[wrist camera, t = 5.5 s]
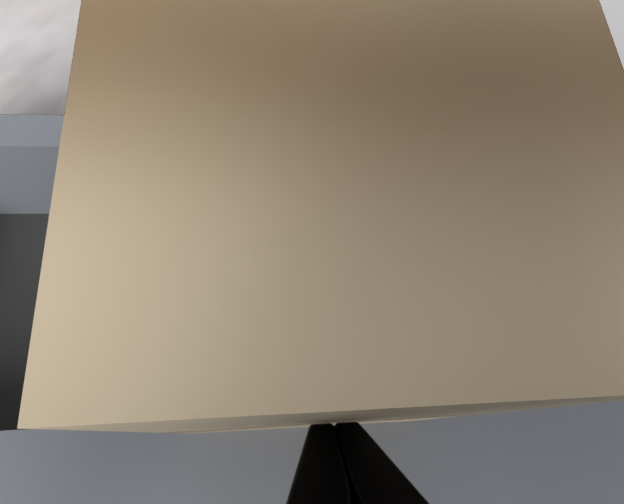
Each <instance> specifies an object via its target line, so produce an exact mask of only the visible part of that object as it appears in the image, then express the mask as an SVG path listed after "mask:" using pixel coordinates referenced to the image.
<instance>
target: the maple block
mask: <svg viewBox="0 0 624 504" xmlns="http://www.w3.org/2000/svg"><path fill="white" fill-rule="evenodd" d="M622 400H624V69H623V67H622V64H621V61H620V58H619V55H618V52H617V50H616V47H615V44H614V41H613V38H612V35H611V33H610V30H609V27H608V24H607V21H606V18H605V16H604V13H603V10H602V7H601V4H600V1H599V0H81V6H80V13H79V20H78V26H77V33H76V40H75V46H74V53H73V59H72V66H71V73H70V79H69V86H68V93H67V99H66V106H65V113H64V119H63V126H62V133H61V139H60V146H59V153H58V159H57V166H56V173H55V179H54V186H53V193H52V199H51V206H50V212H49V219H48V226H47V232H46V239H45V246H44V252H43V259H42V266H41V272H40V279H39V286H38V292H37V299H36V306H35V312H34V319H33V326H32V332H31V339H30V345H29V352H28V359H27V365H26V372H25V379H24V385H23V392H22V399H21V405H20V412H19V419H18V425H17V429H45V430H80V431H115V432H150V433H185V434H189V433H206V432H223V431H241V430H258V429H275V428H292V427H309V426H310V425H312V424H322V423H331V424H333V425H335V424H336V423H340V422H358V423H359V424H361V423H379V422H396V421H413V420H427V419H437V418H447V417H458V416H468V415H478V414H488V413H499V412H509V411H519V410H530V409H540V408H550V407H560V406H571V405H581V404H591V403H602V402H612V401H622Z"/></svg>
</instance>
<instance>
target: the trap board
mask: <svg viewBox="0 0 624 504" xmlns="http://www.w3.org/2000/svg"><path fill="white" fill-rule="evenodd" d="M63 119H64V115H22V114H0V504H286V502H287V498H288V495H289V492H290V488H291V485H292V482H293V478H294V475H295V472H296V468H297V465H298V462H299V458H300V455H301V452H302V448H303V445H304V442H305V438H306V435H307V432H308V428H309V427H292V428H275V429H258V430H241V431H223V432H206V433H189V434H185V433H150V432H115V431H80V430H45V429H17V425H18V419H19V412H20V405H21V399H22V392H23V385H24V379H25V372H26V365H27V359H28V352H29V345H30V339H31V332H32V326H33V319H34V312H35V306H36V299H37V292H38V286H39V279H40V272H41V266H42V259H43V252H44V246H45V239H46V232H47V226H48V219H49V212H50V206H51V199H52V193H53V186H54V179H55V173H56V166H57V159H58V153H59V146H60V139H61V133H62V126H63ZM360 425H361V426H362V427H363V428H364V429H365V430H366V431H367V433H368V434H369V435H370V436H371V437H372V438H373V439H374V441H375V442H376V443H377V444H378V445H379V446H380V447H381V449H382V450H383V451H384V452H385V453H386V454H387V456H388V457H389V458H390V459H391V460H392V461H393V462H394V464H395V465H396V466H397V467H398V468H399V469H400V470H401V472H402V473H403V474H404V475H405V476H406V477H407V478H408V480H409V481H410V482H411V483H412V484H413V485H414V487H415V488H416V489H417V490H418V491H419V492H420V493H421V495H422V496H423V497H424V498H425V499H426V500H427V501H428V503H429V504H624V400H622V401H612V402H602V403H591V404H581V405H571V406H560V407H550V408H540V409H530V410H519V411H509V412H499V413H488V414H478V415H468V416H458V417H447V418H437V419H427V420H413V421H396V422H379V423H361V424H360ZM333 426H334V425H333Z"/></svg>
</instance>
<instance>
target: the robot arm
mask: <svg viewBox="0 0 624 504" xmlns="http://www.w3.org/2000/svg"><path fill="white" fill-rule="evenodd" d="M286 504H429V503H428V501H427V500H426V499H425V498H424V497H423V496H422V495H421V493H420V492H419V491H418V490H417V489H416V488H415V487H414V485H413V484H412V483H411V482H410V481H409V480H408V478H407V477H406V476H405V475H404V474H403V473H402V472H401V470H400V469H399V468H398V467H397V466H396V465H395V464H394V462H393V461H392V460H391V459H390V458H389V457H388V456H387V454H386V453H385V452H384V451H383V450H382V449H381V447H380V446H379V445H378V444H377V443H376V442H375V441H374V439H373V438H372V437H371V436H370V435H369V434H368V433H367V431H366V430H365V429H364V428H363V427H362V426H361V425H360V424H359V423H358V422H340V423H336V424H335V425H334V426H333V424H331V423H322V424H312V425H310V426H309V428H308V432H307V435H306V438H305V442H304V445H303V448H302V452H301V455H300V458H299V462H298V465H297V468H296V472H295V475H294V478H293V482H292V485H291V488H290V492H289V495H288V498H287V502H286Z"/></svg>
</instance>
